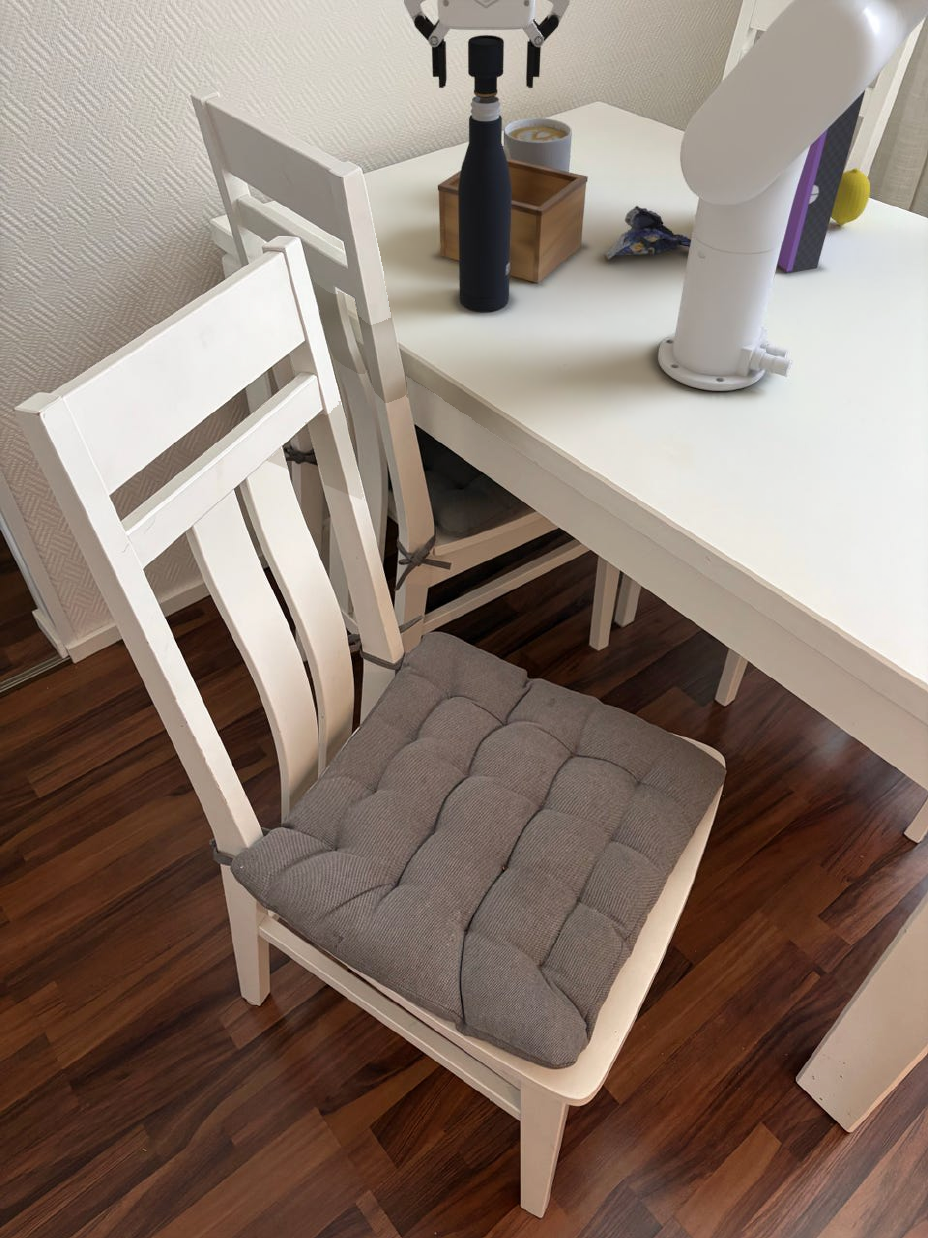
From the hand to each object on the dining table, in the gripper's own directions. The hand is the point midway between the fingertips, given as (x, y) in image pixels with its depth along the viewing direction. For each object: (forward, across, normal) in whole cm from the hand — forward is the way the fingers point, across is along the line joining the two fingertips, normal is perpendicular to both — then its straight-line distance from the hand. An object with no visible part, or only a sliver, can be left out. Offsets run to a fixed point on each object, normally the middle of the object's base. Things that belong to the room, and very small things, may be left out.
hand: (486, 83), depth 105 cm
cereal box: (+26, +40, +17) cm, 51 cm away
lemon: (+26, +52, +23) cm, 62 cm away
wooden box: (+26, +3, +14) cm, 30 cm away
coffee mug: (+26, +5, +32) cm, 41 cm away
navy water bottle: (+26, 0, 0) cm, 26 cm away
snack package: (+26, +22, +15) cm, 37 cm away
